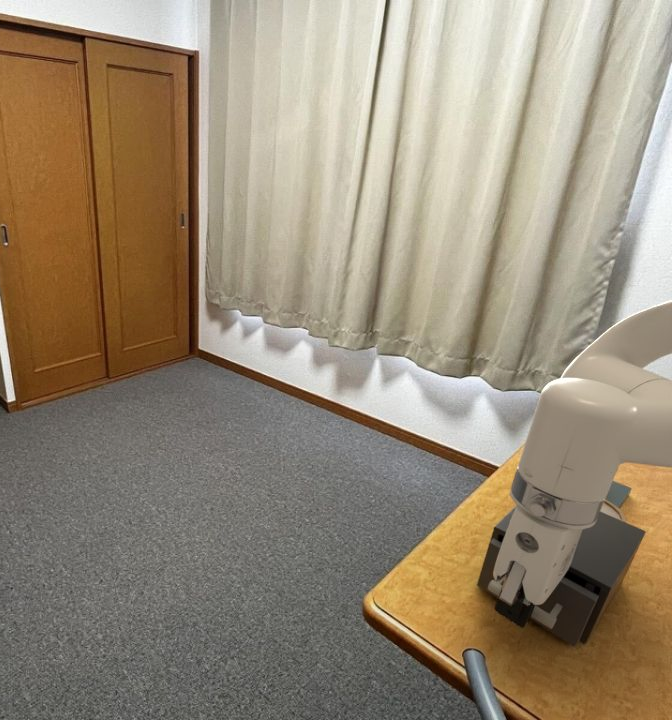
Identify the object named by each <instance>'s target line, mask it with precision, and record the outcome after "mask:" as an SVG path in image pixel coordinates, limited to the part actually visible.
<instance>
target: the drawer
mask: <svg viewBox="0 0 672 720" xmlns="http://www.w3.org/2000/svg"><path fill="white" fill-rule="evenodd" d="M503 540H504V538H503ZM502 542H503V541H502ZM501 545H502V543H501V542H499V541H497V540H496V539H493V540H492V541H491V542H490V541H489V543H488V547H487V550H486V554H485V556H484V560H483V564H482V567H481V569H480V572H479V576H478V580H477V583H476V586H478V588H481V589H482V590H483V591H485V592H487V593H489V594H490V595H491V596H493V597H495V598H496V599H498V597H499V594H500V591H501V588H502V586H503V583H504V579H505V576H506V575H505V576H504V577H503V578H502V579H501V581H496V580H495V579H494V576H493V572H494V567H495V563H496V560H497V557H498V554H499V551H500V548H501ZM600 589H601V588H599V587H597V586H596V585H594V584H592V583H590V582H588V581H586V580H584V579H582V578H581V577H579V576H577V575H575V574H573V573H571V572H569V571H567V572H566V574H565V575H564V577H563V578H562V579H561V581H560V582H559V584H558V585H557V586H556V588H555V589H554V590H553V592H552V593H551V594H550V596H549V597H548V598H547V600H546V601H545V602H544V603H543V604H540V605H535V607H534V610H533V612H532V615H531V618H530V620H531V621H533V622H534V623H536V624H538V625H539V626H541V627H542V628H544V629H546V630H547V631H549V632H551V633H552V634H554V635H555V636H557V637H558V638H560V639H561V640H563V641H565V642H566V643H568V644H570V645H571V646H573V647H574V648H575V647H577V645H578V643H579V642H580V641H579V640H580V637H581V635H582V633H583V631H584V628H585V626H586V624H587V622H588V619H589V617H590V615H591V613H592V610H593V608H594V606H595V604H596V601H597V599H598V597H599V596H598V594H599V591H600Z"/></svg>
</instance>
